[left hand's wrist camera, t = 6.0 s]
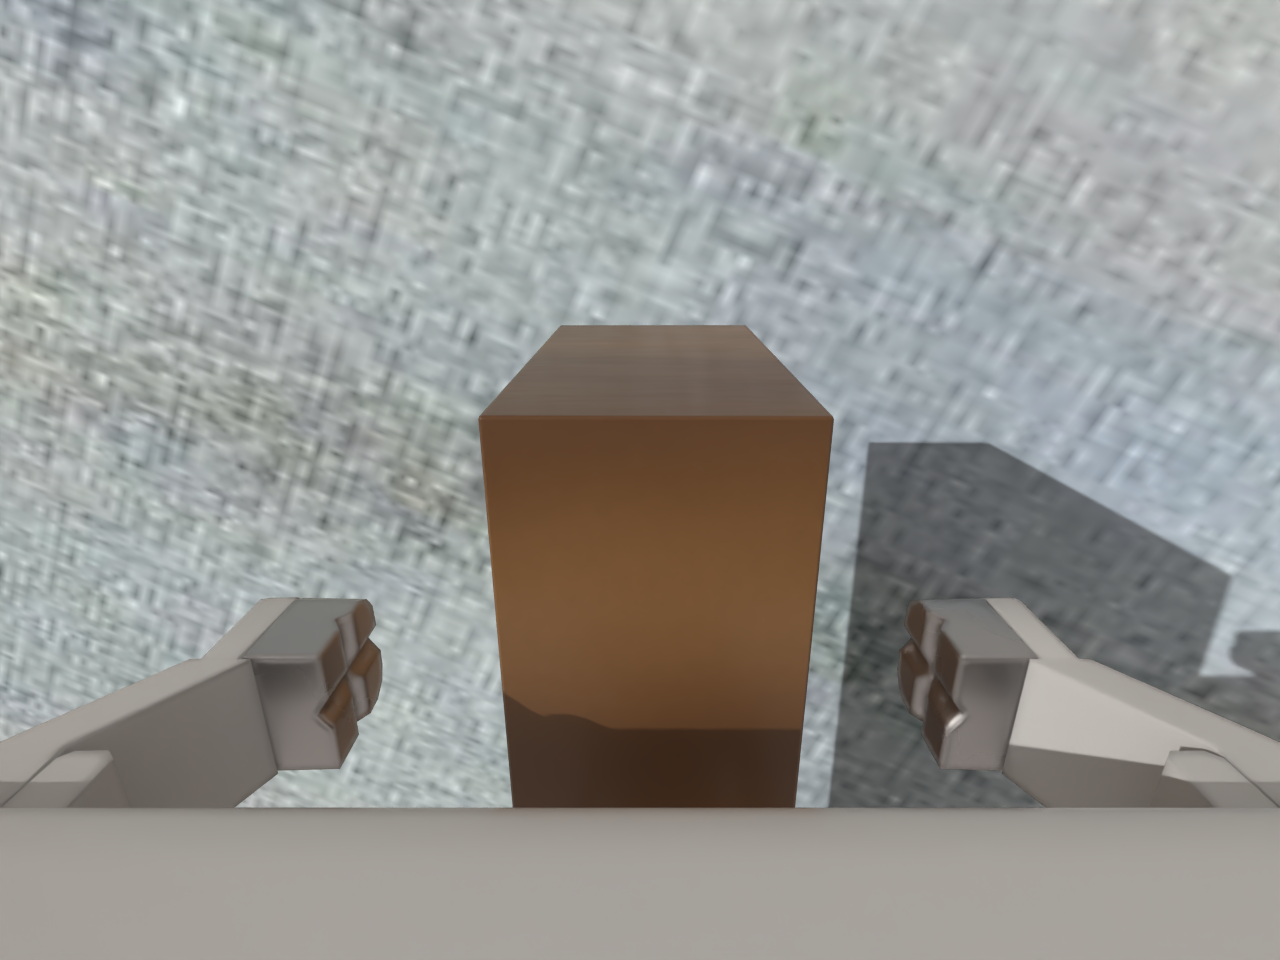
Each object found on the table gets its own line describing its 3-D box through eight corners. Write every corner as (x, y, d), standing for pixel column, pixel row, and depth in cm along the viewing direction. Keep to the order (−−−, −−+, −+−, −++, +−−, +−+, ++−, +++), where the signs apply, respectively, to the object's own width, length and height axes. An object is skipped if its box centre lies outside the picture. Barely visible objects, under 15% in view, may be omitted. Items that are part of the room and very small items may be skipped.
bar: (560, 325, 17) (477, 415, 9) (746, 325, 17) (834, 416, 9) (591, 1050, 27) (565, 1407, 19) (709, 1051, 27) (734, 1411, 19)
